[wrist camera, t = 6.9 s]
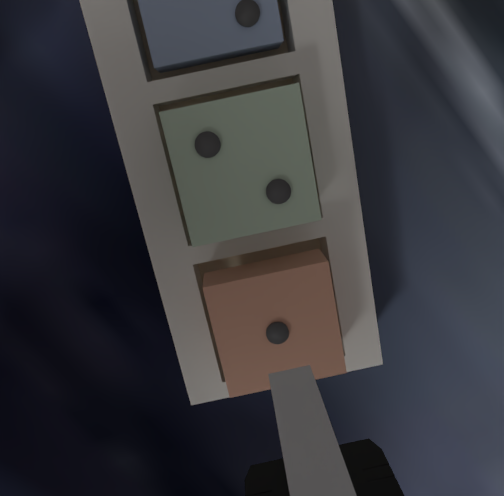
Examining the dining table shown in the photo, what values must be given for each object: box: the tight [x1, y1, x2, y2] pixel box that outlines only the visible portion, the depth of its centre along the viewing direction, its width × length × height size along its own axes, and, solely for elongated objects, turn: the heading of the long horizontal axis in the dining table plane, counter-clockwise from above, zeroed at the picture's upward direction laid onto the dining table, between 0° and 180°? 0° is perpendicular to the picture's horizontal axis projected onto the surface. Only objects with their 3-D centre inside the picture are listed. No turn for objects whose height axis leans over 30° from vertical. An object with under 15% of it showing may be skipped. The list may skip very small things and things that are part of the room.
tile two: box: [159, 83, 322, 247], centre depth 21 cm, size 6×6×2 cm
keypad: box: [79, 0, 383, 405], centre depth 24 cm, size 11×25×3 cm, turn 11°
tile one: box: [202, 249, 347, 398], centre depth 23 cm, size 6×6×2 cm
